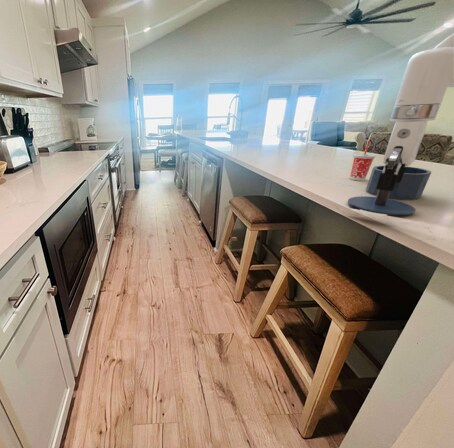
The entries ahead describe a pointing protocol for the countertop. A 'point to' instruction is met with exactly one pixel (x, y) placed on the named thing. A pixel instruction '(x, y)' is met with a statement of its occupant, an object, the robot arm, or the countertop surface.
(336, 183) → the countertop surface
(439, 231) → the countertop surface
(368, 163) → the beverage cup
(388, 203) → the pot lid
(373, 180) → the pot
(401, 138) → the robot arm
